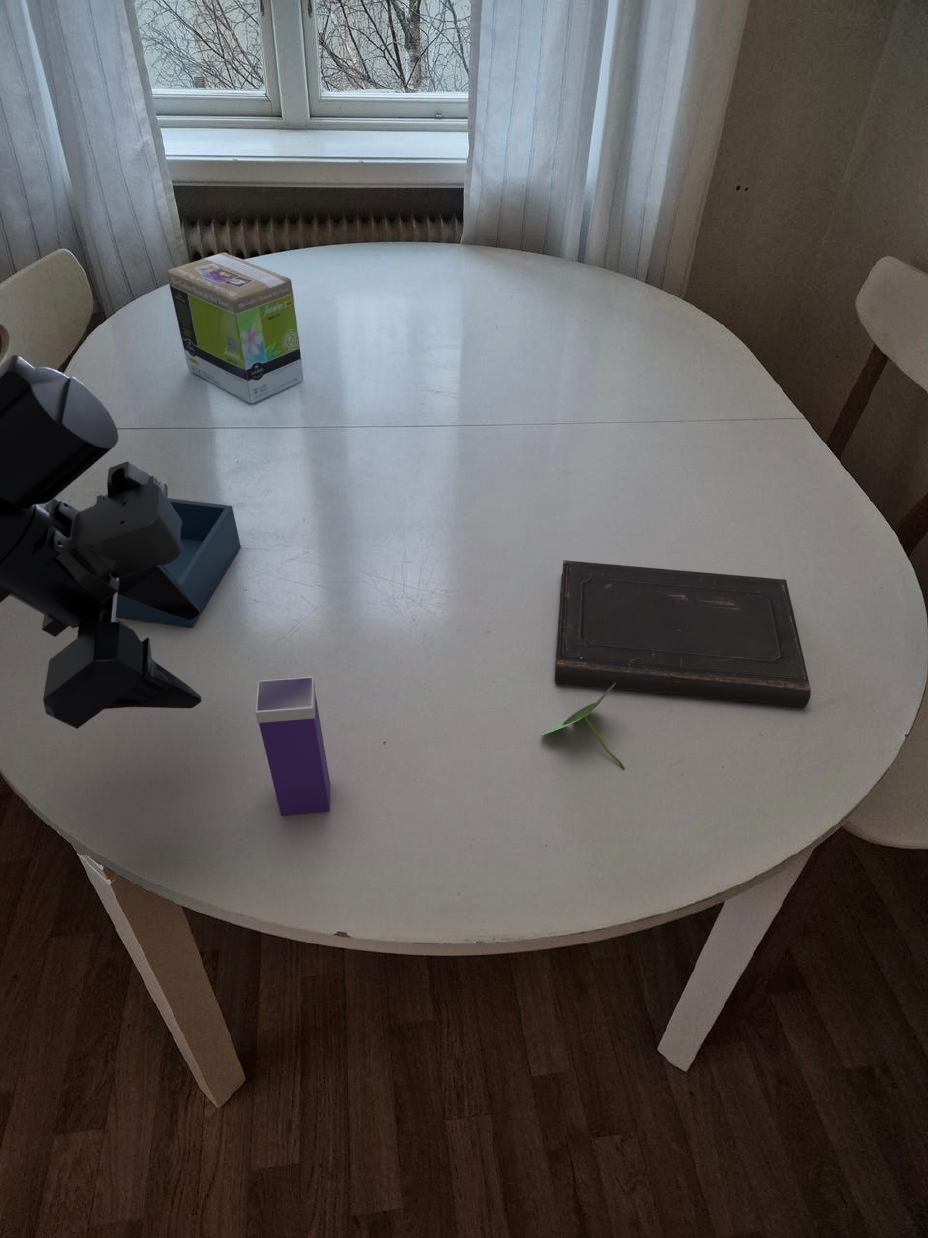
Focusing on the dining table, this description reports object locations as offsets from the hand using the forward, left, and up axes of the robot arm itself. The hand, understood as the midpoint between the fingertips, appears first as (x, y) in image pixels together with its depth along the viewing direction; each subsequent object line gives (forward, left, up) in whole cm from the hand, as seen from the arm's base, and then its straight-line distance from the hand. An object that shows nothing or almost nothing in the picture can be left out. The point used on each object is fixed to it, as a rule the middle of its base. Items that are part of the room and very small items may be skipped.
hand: (196, 657), depth 64 cm
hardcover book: (+37, +24, -14) cm, 46 cm away
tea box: (-24, +67, -14) cm, 72 cm away
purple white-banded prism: (+7, -1, -14) cm, 16 cm away
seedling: (+29, +9, -14) cm, 34 cm away
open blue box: (-17, +23, -14) cm, 32 cm away
